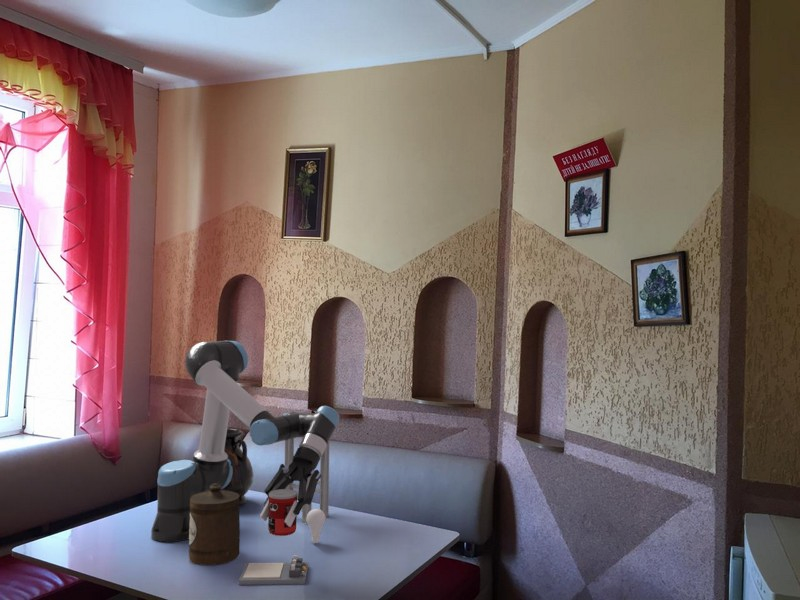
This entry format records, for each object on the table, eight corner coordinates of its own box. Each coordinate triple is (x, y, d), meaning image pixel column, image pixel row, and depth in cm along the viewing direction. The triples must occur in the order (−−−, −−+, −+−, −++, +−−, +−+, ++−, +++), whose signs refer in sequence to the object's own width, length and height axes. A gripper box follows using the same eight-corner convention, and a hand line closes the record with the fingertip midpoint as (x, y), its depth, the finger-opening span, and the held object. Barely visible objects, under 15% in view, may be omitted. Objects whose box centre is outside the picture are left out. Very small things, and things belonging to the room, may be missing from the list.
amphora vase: (263, 500, 258) (264, 428, 259) (231, 516, 238) (232, 438, 239) (218, 494, 266) (219, 424, 266) (182, 509, 246) (184, 434, 246)
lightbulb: (321, 547, 208) (322, 512, 208) (303, 545, 209) (303, 511, 209) (327, 540, 214) (328, 507, 214) (309, 539, 215) (310, 505, 215)
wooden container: (198, 547, 207) (199, 477, 208) (245, 548, 207) (246, 478, 207) (181, 565, 193) (182, 490, 193) (231, 566, 192) (232, 491, 192)
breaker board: (238, 584, 179) (238, 569, 180) (246, 567, 191) (246, 552, 192) (304, 583, 181) (305, 568, 181) (308, 566, 193) (308, 552, 193)
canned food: (269, 527, 190) (270, 489, 190) (297, 526, 191) (298, 488, 191) (266, 536, 182) (267, 497, 182) (295, 536, 183) (296, 496, 183)
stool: (305, 507, 249) (307, 415, 250) (336, 515, 240) (337, 419, 240) (275, 518, 237) (277, 420, 237) (306, 526, 227) (308, 425, 228)
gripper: (343, 464, 195) (310, 534, 181) (286, 455, 205) (251, 521, 191) (334, 449, 191) (299, 521, 176) (276, 441, 200) (239, 508, 186)
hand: (275, 521), depth 184 cm, fingers closed on canned food, 8 cm apart
